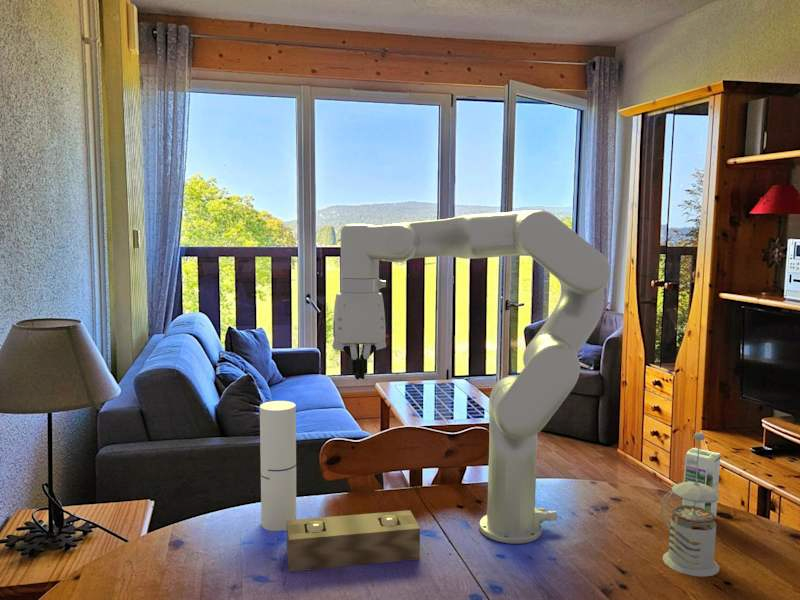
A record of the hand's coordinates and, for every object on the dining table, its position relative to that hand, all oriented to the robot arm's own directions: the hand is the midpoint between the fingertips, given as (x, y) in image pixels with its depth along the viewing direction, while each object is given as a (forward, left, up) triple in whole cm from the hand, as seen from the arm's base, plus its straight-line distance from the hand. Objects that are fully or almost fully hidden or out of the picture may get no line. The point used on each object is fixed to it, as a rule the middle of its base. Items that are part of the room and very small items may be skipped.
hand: (359, 377), depth 137 cm
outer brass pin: (+10, +12, -30) cm, 34 cm away
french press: (-58, +26, -31) cm, 71 cm away
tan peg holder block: (+3, +12, -31) cm, 33 cm away
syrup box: (-72, +10, -31) cm, 79 cm away
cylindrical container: (+16, -4, -31) cm, 35 cm away
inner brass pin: (-4, +12, -30) cm, 33 cm away
